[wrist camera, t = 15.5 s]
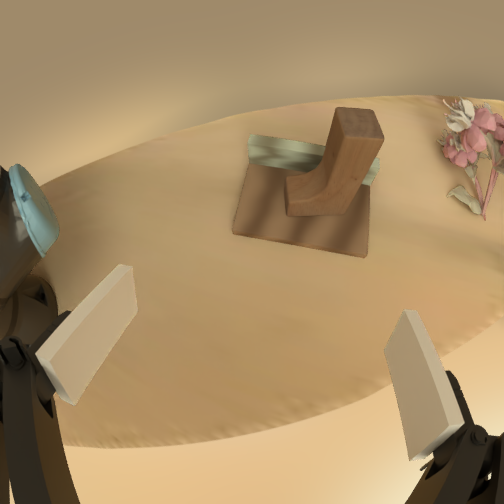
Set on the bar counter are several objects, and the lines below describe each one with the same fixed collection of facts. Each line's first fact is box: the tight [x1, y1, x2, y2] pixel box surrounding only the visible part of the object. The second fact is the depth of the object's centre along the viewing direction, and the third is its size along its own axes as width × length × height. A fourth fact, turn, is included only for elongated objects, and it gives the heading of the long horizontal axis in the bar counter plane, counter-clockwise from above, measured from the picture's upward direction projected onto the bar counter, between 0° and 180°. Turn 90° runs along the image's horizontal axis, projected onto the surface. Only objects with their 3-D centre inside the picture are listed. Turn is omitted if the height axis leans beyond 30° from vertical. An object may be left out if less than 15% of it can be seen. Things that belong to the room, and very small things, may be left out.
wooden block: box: [284, 107, 384, 217], centre depth 34 cm, size 9×4×18 cm, turn 92°
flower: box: [436, 97, 504, 220], centre depth 36 cm, size 20×22×25 cm
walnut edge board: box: [232, 134, 380, 258], centre depth 41 cm, size 20×14×6 cm
